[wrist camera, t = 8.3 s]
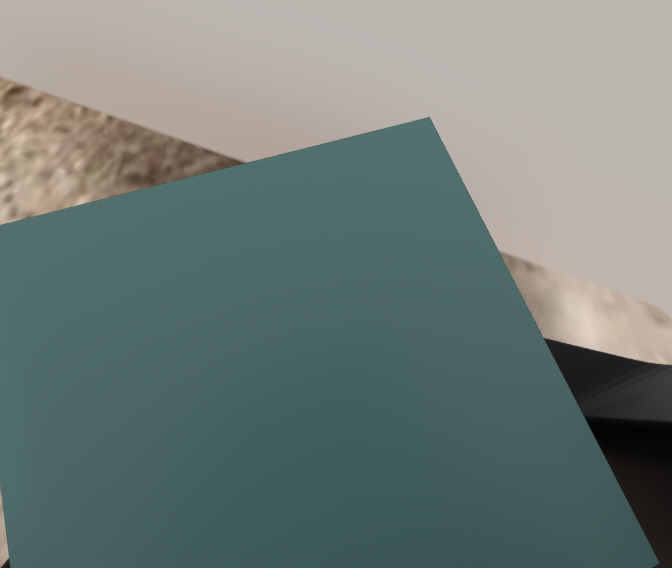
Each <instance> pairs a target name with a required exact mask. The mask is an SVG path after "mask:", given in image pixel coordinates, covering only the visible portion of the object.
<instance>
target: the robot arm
mask: <svg viewBox="0 0 672 568" xmlns="http://www.w3.org/2000/svg"><path fill="white" fill-rule="evenodd" d="M544 340H545V342H546V344H547V346H548V348H549V350H550V352H551V354H552V355H553V357H554V359H555V361H556V363H557V365H558V367H559V369H560V371H561V373H562V375H563V377H564V379H565V381H566V383H567V385H568V387H569V388H570V390H571V392H572V394H573V396H574V398H575V400H576V402H577V404H578V406H579V408H580V410H581V412H582V414H583V416H584V418H585V420H586V421H587V423H588V425H589V427H590V429H591V431H592V433H593V435H594V437H595V439H596V441H597V443H598V445H599V447H600V449H601V451H602V453H603V455H604V456H605V458H606V460H607V462H608V464H609V466H610V468H611V470H612V472H613V474H614V476H615V478H616V480H617V482H618V484H619V486H620V488H621V489H622V491H623V493H624V495H625V497H626V499H627V501H628V503H629V505H630V507H631V509H632V511H633V513H634V515H635V517H636V519H637V521H638V522H639V524H640V526H641V528H642V530H643V532H644V534H645V536H646V538H647V540H648V542H649V544H650V546H651V548H652V550H653V552H654V554H655V555H656V557H657V559H658V561H659V564H658V565H656V566H654V567H653V568H672V365H664V364H655V363H648V362H643V361H638V360H634V359H629V358H625V357H621V356H617V355H613V354H608V353H604V352H600V351H596V350H591V349H587V348H583V347H579V346H575V345H570V344H566V343H562V342H558V341H554V340H550V339H546V338H544ZM1 568H10V561H9V559H8V560H7V561H6V562H5V563H4V564H3V566H2V567H1Z"/></svg>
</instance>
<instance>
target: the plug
mask: <svg viewBox="0 0 672 568" xmlns="http://www.w3.org/2000/svg"><path fill="white" fill-rule="evenodd" d="M0 484H1V493H2V501H3V510H4V518H5V527H6V535H7V544H8V552H9V561H10V568H653V567H654V566H656V565H658V564H659V561H658V559H657V557H656V555H655V554H654V552H653V550H652V548H651V546H650V544H649V542H648V540H647V538H646V536H645V534H644V532H643V530H642V528H641V526H640V524H639V522H638V521H637V519H636V517H635V515H634V513H633V511H632V509H631V507H630V505H629V503H628V501H627V499H626V497H625V495H624V493H623V491H622V489H621V488H620V486H619V484H618V482H617V480H616V478H615V476H614V474H613V472H612V470H611V468H610V466H609V464H608V462H607V460H606V458H605V456H604V455H603V453H602V451H601V449H600V447H599V445H598V443H597V441H596V439H595V437H594V435H593V433H592V431H591V429H590V427H589V425H588V423H587V421H586V420H585V418H584V416H583V414H582V412H581V410H580V408H579V406H578V404H577V402H576V400H575V398H574V396H573V394H572V392H571V390H570V388H569V387H568V385H567V383H566V381H565V379H564V377H563V375H562V373H561V371H560V369H559V367H558V365H557V363H556V361H555V359H554V357H553V355H552V354H551V352H550V350H549V348H548V346H547V344H546V342H545V340H544V338H543V336H542V334H541V332H540V330H539V328H538V326H537V324H536V322H535V321H534V319H533V317H532V315H531V313H530V311H529V309H528V307H527V305H526V303H525V301H524V299H523V297H522V295H521V293H520V291H519V289H518V288H517V286H516V284H515V282H514V280H513V278H512V276H511V274H510V272H509V270H508V268H507V266H506V264H505V262H504V260H503V258H502V256H501V255H500V253H499V251H498V249H497V247H496V245H495V243H494V241H493V239H492V237H491V235H490V233H489V231H488V229H487V228H486V226H485V224H484V222H483V220H482V218H481V216H480V214H479V212H478V210H477V208H476V206H475V204H474V202H473V200H472V198H471V196H470V194H469V193H468V191H467V189H466V187H465V185H464V183H463V181H462V179H461V177H460V175H459V173H458V172H457V169H456V167H455V165H454V163H453V162H452V159H451V158H450V156H449V154H448V152H447V150H446V148H445V146H444V144H443V142H442V140H441V138H440V136H439V134H438V132H437V130H436V128H435V127H434V125H433V123H432V121H431V119H430V117H428V118H424V119H420V120H416V121H412V122H408V123H404V124H400V125H396V126H392V127H388V128H384V129H380V130H376V131H373V132H368V133H364V134H360V135H356V136H352V137H349V138H344V139H340V140H337V141H332V142H328V143H324V144H321V145H317V146H313V147H308V148H305V149H300V150H297V151H292V152H289V153H284V154H281V155H277V156H273V157H269V158H265V159H261V160H257V161H253V162H249V163H245V164H241V165H237V166H233V167H229V168H225V169H221V170H217V171H213V172H209V173H205V174H201V175H197V176H193V177H189V178H185V179H181V180H177V181H173V182H169V183H165V184H161V185H157V186H153V187H149V188H145V189H141V190H137V191H133V192H129V193H125V194H121V195H117V196H113V197H109V198H106V199H102V200H98V201H94V202H90V203H86V204H82V205H78V206H74V207H70V208H66V209H62V210H58V211H54V212H50V213H46V214H42V215H38V216H34V217H30V218H26V219H22V220H18V221H14V222H10V223H6V224H2V225H0Z"/></svg>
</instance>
